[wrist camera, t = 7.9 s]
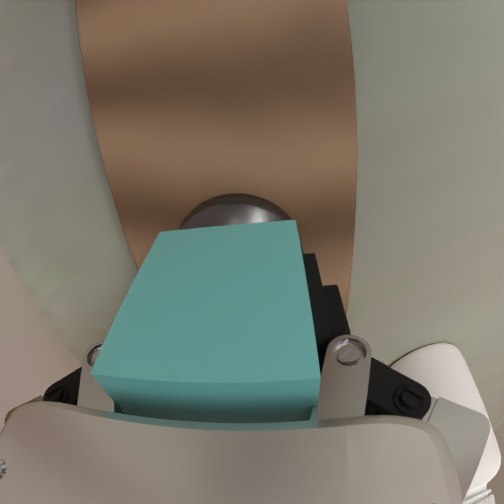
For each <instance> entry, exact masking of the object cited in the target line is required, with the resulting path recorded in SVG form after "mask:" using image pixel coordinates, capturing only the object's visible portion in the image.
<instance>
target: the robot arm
mask: <svg viewBox="0 0 504 504" xmlns="http://www.w3.org/2000/svg"><path fill="white" fill-rule="evenodd" d="M302 257H303V263H304V268H305V274H306V280H307V286H308V292H309V299H310V305H311V312H312V318H313V325H314V332H315V339H316V346H317V353H318V360H319V368H320V376H321V380H320V389H319V397H318V405H314V406H313V410H312V414H311V417H310V421H296V422H277V423H211V422H192V421H179V420H167V419H158V418H149V417H141V416H133V415H126V414H125V413H124V412H123V411H122V408H121V407H120V405H119V404H118V403H117V402H116V401H115V400H114V399H111V398H110V397H109V395H108V394H107V393H106V392H105V391H104V389H103V388H102V387H101V386H100V385H99V383H98V382H97V381H96V380H95V379H94V377H93V376H92V375H91V371H92V368H93V366H94V364H95V361H96V359H97V357H98V354H99V352H100V350H101V348H102V345H103V343H104V341H100V342H97V343H95V344H93V345H92V346H91V347H90V348H88V350H87V351H86V353H85V355H84V358H83V364H82V367H80V368H79V369H77V370H76V371H74V372H72V373H71V374H69V375H67V376H66V377H64V378H62V379H61V380H59V381H57V382H56V383H54V384H52V385H51V386H50V387H49V388H48V389H47V390H46V392H45V394H44V397H42V396H38V397H36V398H34V399H33V400H30V401H28V402H26V403H24V404H22V405H20V406H18V407H15V408H13V409H12V410H10V411H9V412H8V414H7V415H6V418H5V425H4V427H3V429H2V431H1V434H0V504H463V500H464V498H465V496H466V494H467V492H468V489H469V487H470V485H471V483H472V480H473V478H474V475H475V473H476V470H477V468H478V465H479V463H480V460H481V457H482V454H483V452H484V449H485V446H486V443H487V440H488V436H489V433H490V423H489V420H488V419H487V417H486V416H485V415H483V414H482V413H480V412H477V411H475V410H472V409H470V408H467V407H464V406H462V405H459V404H457V403H454V402H452V401H449V400H447V399H444V398H442V397H438V399H436V398H434V397H432V396H430V393H429V391H428V390H427V389H426V387H424V386H423V385H422V384H420V383H418V382H416V381H414V380H413V379H411V378H409V377H407V376H405V375H403V374H401V373H400V372H398V371H396V370H394V369H392V368H390V367H389V366H387V365H385V364H383V363H381V362H379V361H378V360H376V359H374V358H372V357H371V348H370V346H369V344H368V343H367V342H366V341H365V340H364V339H363V338H361V337H359V336H355V335H351V334H350V330H349V326H348V322H347V318H346V314H345V310H344V307H343V303H342V299H341V296H340V292H339V288H338V286H337V284H336V285H325V286H322V281H321V277H320V273H319V268H318V264H317V260H316V256H315V253H307V254H302Z"/></svg>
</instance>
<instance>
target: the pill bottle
mask: <svg viewBox="0 0 504 504" xmlns="http://www.w3.org/2000/svg"><path fill="white" fill-rule="evenodd" d="M390 368H392V369H394V370H396V371H398V372H400V373H401V374H403V375H405V376H407V377H409V378H411V379H413V380H414V381H416V382H418V383H420V384H422V385H423V386H424V387H426V389H427V390H428V391H429V393H430V396H432V397H434V398H436V399H438V397H442V398H444V399H447V400H449V401H452V402H454V403H457V404H459V405H462V406H464V407H467V408H470V409H472V410H475V411H477V412H480V413H482V414H483V415H485V416H486V417H487V419H488V420H489V418H488V415H487V412H486V410H485V407H484V404H483V402H482V399H481V397H480V394H479V392H478V389H477V387H476V385H475V382H474V380H473V378H472V375H471V373H470V371H469V369H468V366H467V364H466V362H465V360H464V358H463V356H462V354H461V353H460V351H459V350H458V348H456V347H455V346H454V345H452V344H448V343H437V344H432V345H428V346H425V347H422V348H420V349H417V350H415V351H413V352H411V353H409V354H407V355H406V356H404V357H402V358H401V359H399V360H398V361H397V362H395V363H394V364H393V365H392V366H391V367H390ZM489 423H490V420H489ZM500 464H501V454H500V451H499V447H498V444H497V441H496V438H495V435H494V432H493V429H492V426H491V423H490V433H489V436H488V440H487V443H486V446H485V449H484V452H483V454H482V457H481V460H480V463H479V465H478V468H477V470H476V473H475V475H474V478H473V480H472V483H471V485H470V487H469V489H468V492H467V494H466V496H465V498H464V500H463V504H495V500H494V495H493V494H492V495H488V493H490V492H491V489H489V490H487V488H486V484H487V483H488V482H489V481H490V480H491V479H492V478H493V477H494V476H495V475H496V473H497V472H498V470H499V468H500Z"/></svg>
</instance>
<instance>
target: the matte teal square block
mask: <svg viewBox="0 0 504 504" xmlns="http://www.w3.org/2000/svg"><path fill="white" fill-rule="evenodd" d="M91 375H92V376H93V377H94V379H95V380H96V381H97V382H98V383H99V385H100V386H101V387H102V388H103V389H104V391H105V392H106V393H107V394H108V395H109V397H110V398H111V399H114V400H115V401H116V402H117V403H118V404H119V405H120V407H121V408H122V411H123V412H124V413H125V414H126V415H133V416H141V417H149V418H158V419H167V420H179V421H192V422H211V423H277V422H296V421H310V417H311V414H312V410H313V406H314V405H318V397H319V389H320V380H321V376H320V368H319V360H318V353H317V346H316V339H315V332H314V325H313V318H312V312H311V305H310V299H309V292H308V286H307V280H306V274H305V268H304V263H303V257H302V251H301V246H300V240H299V235H298V229H297V224H296V220H286V221H273V222H260V223H248V224H236V225H225V226H214V227H203V228H193V229H183V230H173V231H163V232H160V233H159V234H158V236H157V238H156V240H155V242H154V243H153V245H152V247H151V249H150V251H149V252H148V254H147V256H146V258H145V260H144V262H143V264H142V266H141V267H140V269H139V271H138V273H137V275H136V277H135V279H134V281H133V283H132V285H131V287H130V289H129V291H128V293H127V295H126V297H125V299H124V301H123V303H122V305H121V307H120V309H119V311H118V313H117V315H116V317H115V319H114V321H113V324H112V326H111V328H110V330H109V332H108V334H107V337H106V339H105V341H104V343H103V345H102V348H101V350H100V352H99V354H98V357H97V359H96V361H95V364H94V366H93V368H92V371H91Z"/></svg>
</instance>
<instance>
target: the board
mask: <svg viewBox="0 0 504 504" xmlns="http://www.w3.org/2000/svg"><path fill="white" fill-rule="evenodd" d="M76 10H77V22H78V32H79V41H80V49H81V56H82V63H83V69H84V76H85V81H86V87H87V93H88V98H89V103H90V108H91V113H92V118H93V122H94V127H95V131H96V135H97V140H98V144H99V148H100V152H101V156H102V159H103V163H104V167H105V171H106V174H107V178H108V181H109V185H110V188H111V192H112V195H113V198H114V202H115V205H116V208H117V211H118V214H119V218H120V221H121V224H122V227H123V230H124V233H125V236H126V238H127V241H128V244H129V247H130V250H131V253H132V255H133V258H134V261H135V264H136V266H137V269H138V271H139V269H140V267H141V266H142V264H143V262H144V260H145V258H146V256H147V254H148V252H149V251H150V249H151V247H152V245H153V243H154V242H155V240H156V238H157V236H158V234H159V233H160V232H163V231H173V230H179V228H180V226H181V224H182V222H183V221H184V219H185V217H186V216H187V215H188V214H189V213H190V211H191V210H193V209H194V208H195V207H196V206H197V205H199V204H200V203H202V202H204V201H206V200H208V199H210V198H212V197H216V196H219V195H224V194H232V193H241V194H250V195H254V196H258V197H261V198H264V199H266V200H268V201H270V202H272V203H274V204H276V205H277V206H279V207H280V208H281V209H282V210H284V211H285V212H286V213H287V214H288V215H289V217H290V218H291V219H292V220H296V224H297V229H298V231H299V234H300V237H301V241H302V246H303V252H304V254H307V253H315V256H316V260H317V264H318V268H319V273H320V277H321V281H322V286H325V285H336V284H337V286H338V288H339V292H340V296H341V299H342V303H343V307H344V310H345V314H346V313H347V305H348V296H349V287H350V278H351V267H352V256H353V243H354V228H355V209H356V179H357V127H356V99H355V81H354V67H353V55H352V44H351V35H350V26H349V18H348V11H347V4H346V0H76Z"/></svg>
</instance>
